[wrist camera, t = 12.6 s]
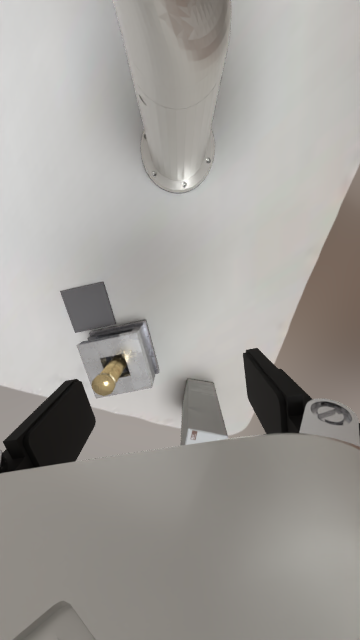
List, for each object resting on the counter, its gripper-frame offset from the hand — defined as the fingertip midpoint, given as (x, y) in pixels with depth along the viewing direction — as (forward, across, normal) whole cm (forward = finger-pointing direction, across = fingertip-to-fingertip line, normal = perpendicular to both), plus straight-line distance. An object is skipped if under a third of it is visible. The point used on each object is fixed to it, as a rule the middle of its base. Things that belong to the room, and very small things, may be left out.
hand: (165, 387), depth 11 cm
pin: (+28, +13, +9) cm, 32 cm away
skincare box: (+29, -1, +22) cm, 37 cm away
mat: (+29, +18, -2) cm, 35 cm away
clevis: (+29, +13, +9) cm, 33 cm away
